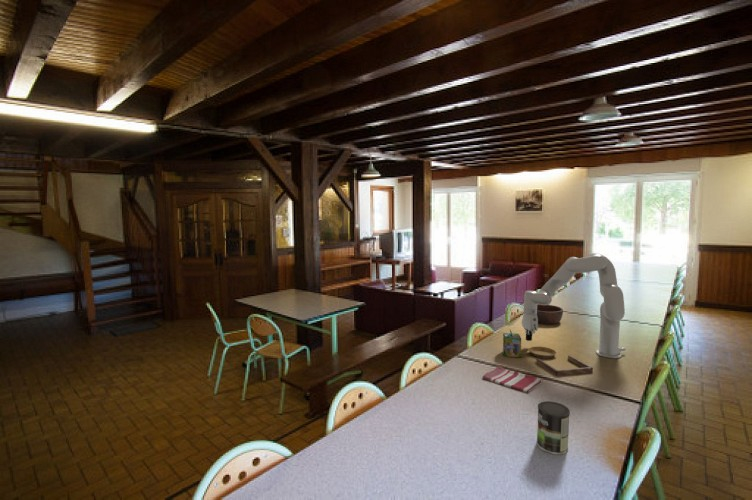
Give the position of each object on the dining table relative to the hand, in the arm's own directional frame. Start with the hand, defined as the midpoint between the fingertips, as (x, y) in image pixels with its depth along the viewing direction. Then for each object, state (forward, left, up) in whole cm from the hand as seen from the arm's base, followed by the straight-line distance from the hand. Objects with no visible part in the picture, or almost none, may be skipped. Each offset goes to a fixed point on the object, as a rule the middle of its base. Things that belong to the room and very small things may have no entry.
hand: (528, 340), depth 237 cm
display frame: (0, +31, -4) cm, 32 cm away
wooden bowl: (-43, -49, -5) cm, 65 cm away
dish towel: (+35, +41, -5) cm, 54 cm away
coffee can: (+49, +93, -5) cm, 105 cm away
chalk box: (+17, +9, -5) cm, 19 cm away
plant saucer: (0, +13, -5) cm, 14 cm away
